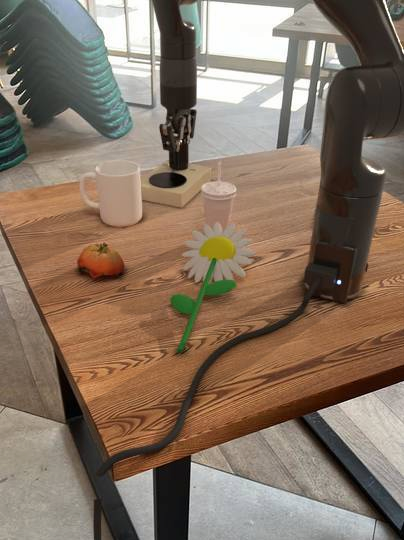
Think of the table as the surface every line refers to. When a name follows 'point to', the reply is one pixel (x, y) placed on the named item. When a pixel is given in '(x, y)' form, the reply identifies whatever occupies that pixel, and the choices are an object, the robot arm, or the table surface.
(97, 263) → the tomato
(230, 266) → the decorative flower
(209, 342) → the table surface
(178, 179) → the burner ring
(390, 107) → the robot arm
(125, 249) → the table surface
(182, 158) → the stove knob
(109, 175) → the cup
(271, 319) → the table surface
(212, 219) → the smoothie
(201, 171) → the hob
